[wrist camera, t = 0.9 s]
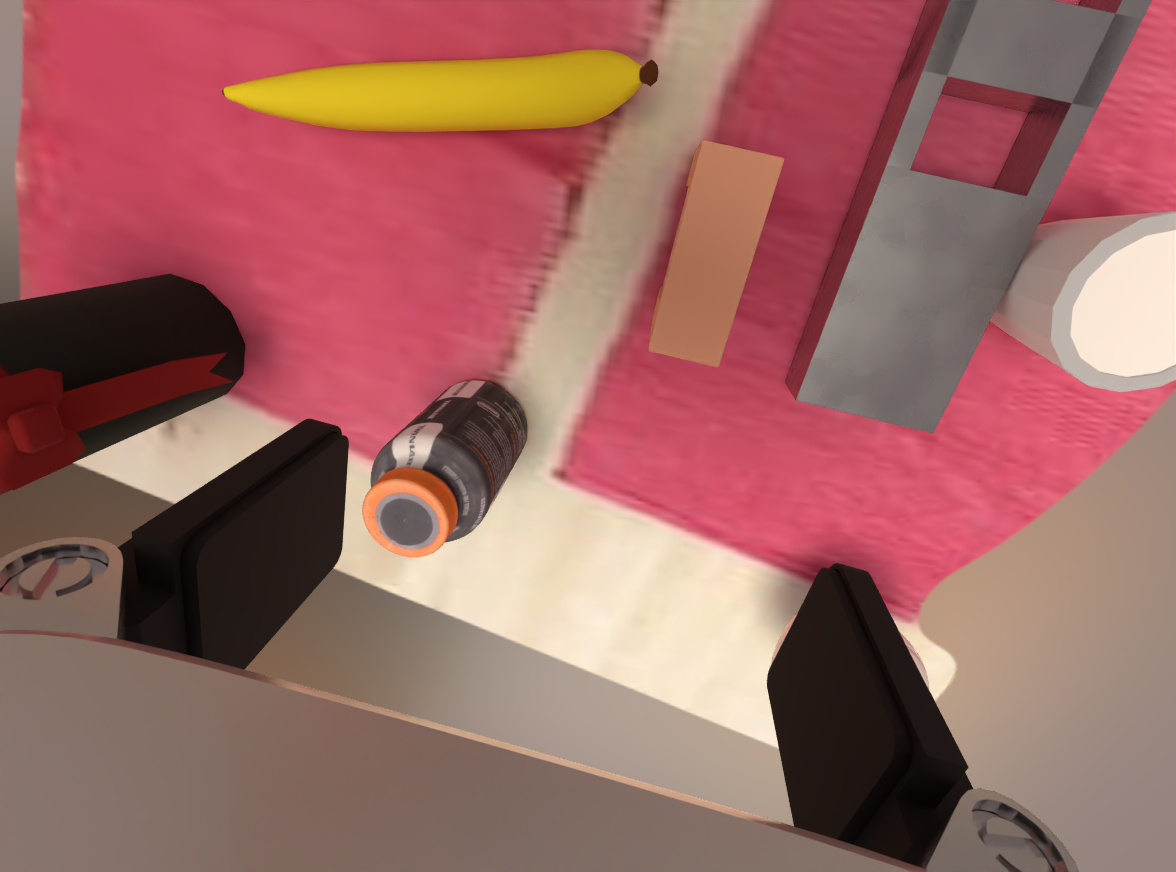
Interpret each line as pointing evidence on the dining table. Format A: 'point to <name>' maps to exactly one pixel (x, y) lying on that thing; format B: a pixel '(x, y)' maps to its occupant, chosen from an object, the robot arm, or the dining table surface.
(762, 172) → the orange block
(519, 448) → the pill bottle
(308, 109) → the banana
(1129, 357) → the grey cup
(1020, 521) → the dining table surface
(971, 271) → the grey slotted block
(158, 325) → the wine bottle
